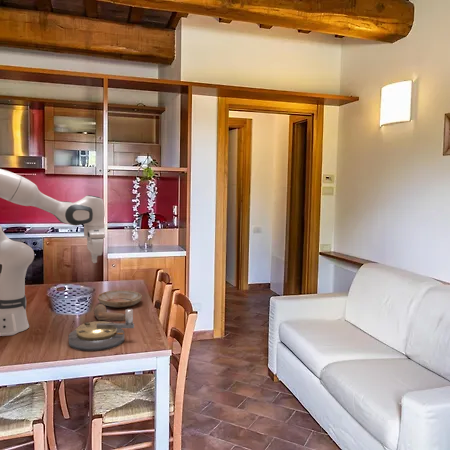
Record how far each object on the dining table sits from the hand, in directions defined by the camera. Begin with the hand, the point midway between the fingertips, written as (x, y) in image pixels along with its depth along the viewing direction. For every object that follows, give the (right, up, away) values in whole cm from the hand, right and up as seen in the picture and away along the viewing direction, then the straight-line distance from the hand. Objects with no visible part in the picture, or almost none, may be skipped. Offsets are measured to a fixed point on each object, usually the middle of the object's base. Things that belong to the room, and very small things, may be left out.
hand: (94, 262), depth 195 cm
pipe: (+3, -29, +14) cm, 32 cm away
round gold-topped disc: (+10, -28, -16) cm, 34 cm away
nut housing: (+6, -31, -16) cm, 35 cm away
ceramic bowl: (+2, -26, +38) cm, 46 cm away
